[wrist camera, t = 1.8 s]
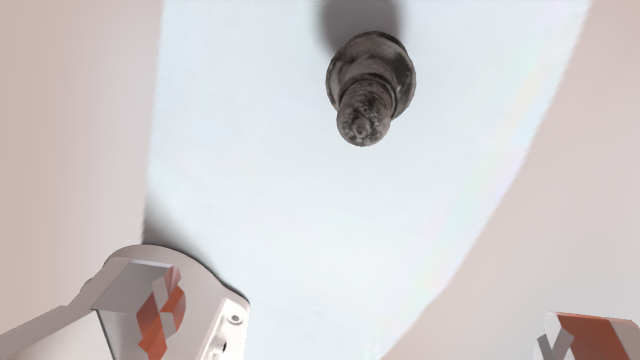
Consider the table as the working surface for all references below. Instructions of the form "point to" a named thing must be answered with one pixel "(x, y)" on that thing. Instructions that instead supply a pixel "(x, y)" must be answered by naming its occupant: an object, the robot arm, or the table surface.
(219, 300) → the robot arm
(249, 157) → the table surface
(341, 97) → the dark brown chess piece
